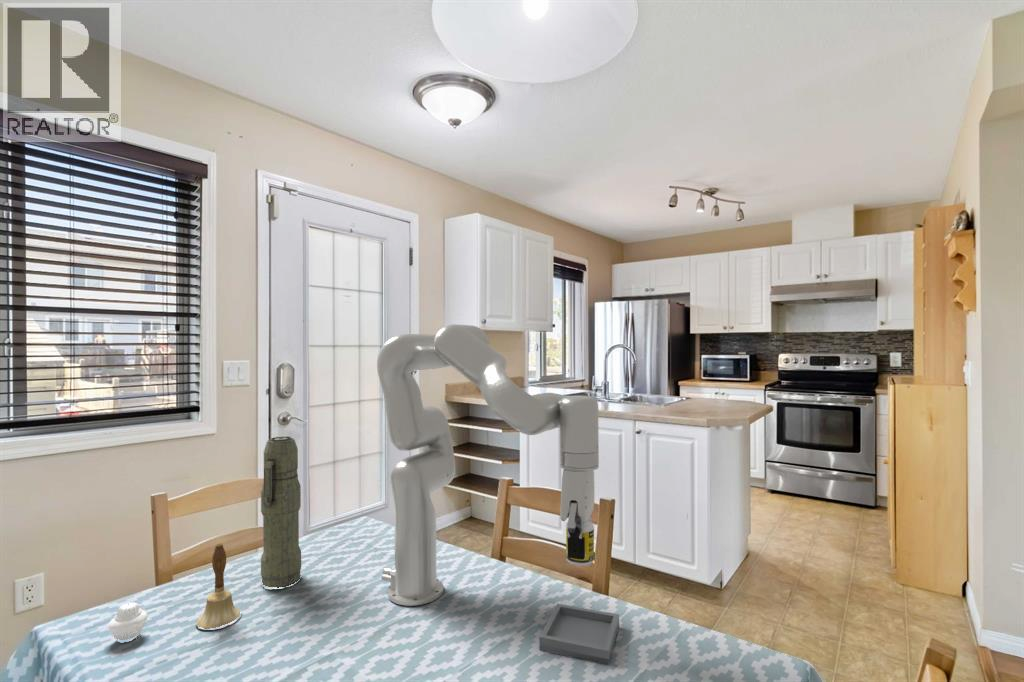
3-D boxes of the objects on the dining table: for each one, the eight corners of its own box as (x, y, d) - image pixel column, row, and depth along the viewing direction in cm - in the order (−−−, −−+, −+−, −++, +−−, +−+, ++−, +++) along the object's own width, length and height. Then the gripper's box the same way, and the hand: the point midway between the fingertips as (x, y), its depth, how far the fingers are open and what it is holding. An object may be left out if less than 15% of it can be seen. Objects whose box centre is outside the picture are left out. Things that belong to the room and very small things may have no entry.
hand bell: (250, 615, 108) (250, 540, 108) (213, 635, 101) (212, 555, 101) (224, 606, 112) (224, 534, 112) (186, 626, 104) (186, 548, 104)
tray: (539, 650, 95) (539, 636, 95) (557, 615, 107) (557, 603, 107) (608, 664, 91) (608, 650, 91) (619, 626, 103) (619, 614, 103)
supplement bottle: (593, 568, 96) (593, 516, 96) (564, 565, 97) (564, 514, 97) (594, 556, 101) (594, 507, 101) (567, 554, 102) (567, 505, 102)
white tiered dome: (114, 634, 101) (114, 599, 101) (151, 627, 104) (151, 593, 104) (103, 651, 96) (103, 614, 96) (142, 643, 98) (142, 607, 98)
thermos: (309, 570, 129) (308, 433, 130) (289, 593, 118) (288, 442, 118) (274, 570, 129) (274, 434, 130) (251, 593, 118) (250, 443, 118)
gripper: (570, 449, 109) (571, 533, 108) (548, 467, 92) (549, 567, 92) (605, 451, 106) (606, 538, 106) (589, 471, 90) (590, 573, 90)
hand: (579, 550), depth 99 cm, fingers closed on supplement bottle, 5 cm apart
